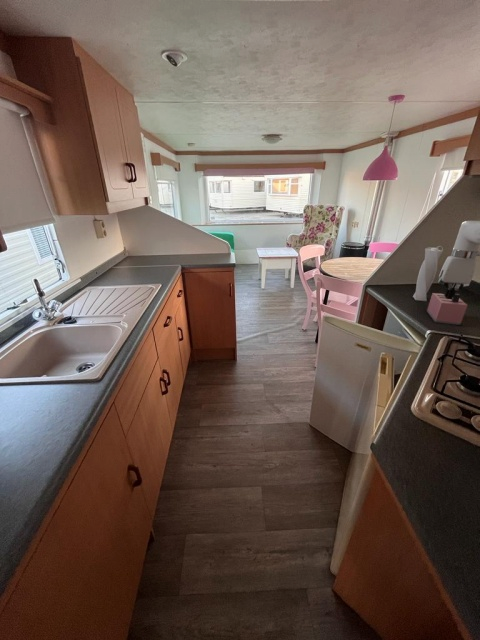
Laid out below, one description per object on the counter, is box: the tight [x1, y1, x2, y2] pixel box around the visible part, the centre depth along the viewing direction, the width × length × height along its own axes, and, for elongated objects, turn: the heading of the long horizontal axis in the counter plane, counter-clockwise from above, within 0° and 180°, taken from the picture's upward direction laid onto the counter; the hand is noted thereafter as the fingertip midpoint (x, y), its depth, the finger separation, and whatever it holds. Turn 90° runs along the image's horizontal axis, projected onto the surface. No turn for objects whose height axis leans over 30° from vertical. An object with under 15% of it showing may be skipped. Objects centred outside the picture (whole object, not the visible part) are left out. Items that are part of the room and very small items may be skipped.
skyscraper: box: [412, 245, 444, 302], centre depth 134 cm, size 8×7×28 cm
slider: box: [452, 293, 461, 302], centre depth 111 cm, size 2×2×3 cm
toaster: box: [426, 292, 468, 326], centre depth 117 cm, size 9×13×9 cm
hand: (448, 298), depth 112 cm, fingers closed
